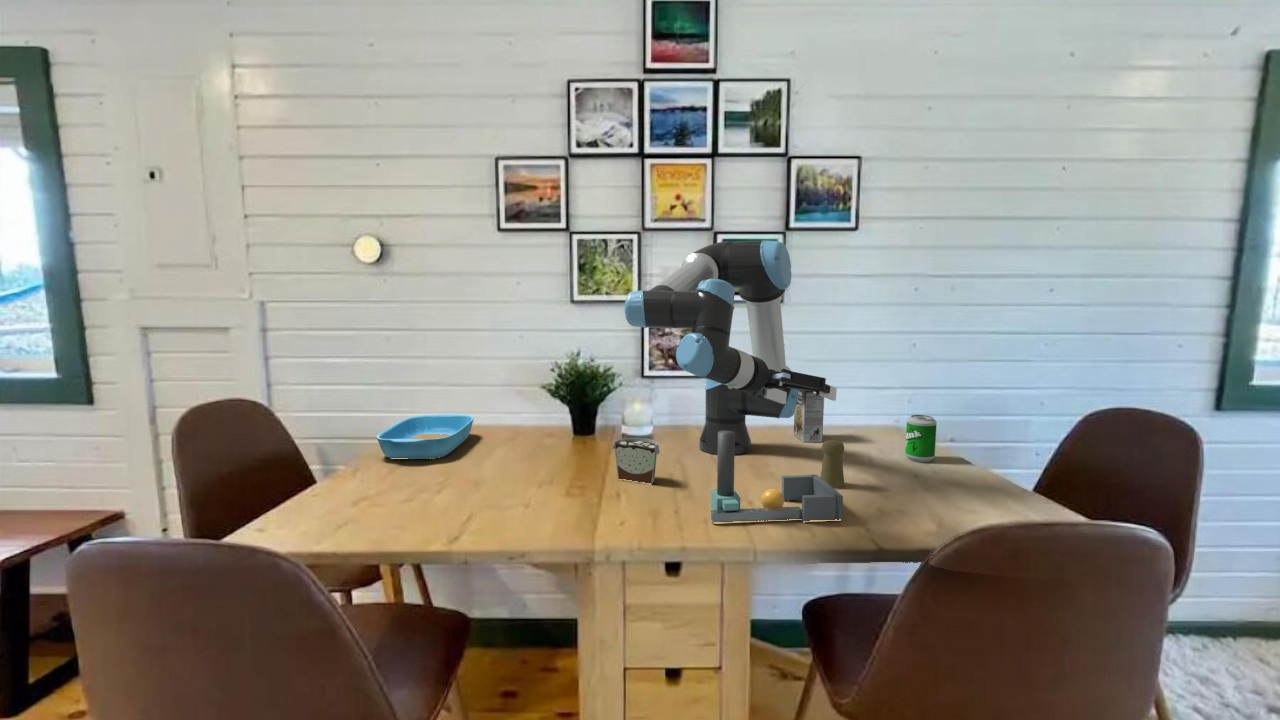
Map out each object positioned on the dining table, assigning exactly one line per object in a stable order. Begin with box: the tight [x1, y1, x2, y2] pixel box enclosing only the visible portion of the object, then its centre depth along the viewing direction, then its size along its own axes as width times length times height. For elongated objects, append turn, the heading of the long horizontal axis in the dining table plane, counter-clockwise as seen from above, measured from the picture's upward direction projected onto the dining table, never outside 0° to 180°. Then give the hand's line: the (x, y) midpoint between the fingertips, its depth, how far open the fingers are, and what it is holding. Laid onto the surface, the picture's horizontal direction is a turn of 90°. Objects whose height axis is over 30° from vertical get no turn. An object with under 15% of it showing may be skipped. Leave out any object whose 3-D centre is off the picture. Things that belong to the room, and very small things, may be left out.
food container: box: [612, 437, 661, 485], centre depth 171 cm, size 12×6×10 cm, turn 65°
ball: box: [760, 488, 785, 508], centre depth 149 cm, size 5×5×5 cm
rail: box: [710, 505, 802, 522], centre depth 143 cm, size 19×2×2 cm, turn 96°
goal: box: [781, 474, 844, 521], centre depth 150 cm, size 8×15×6 cm, turn 6°
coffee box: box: [793, 390, 825, 443], centre depth 210 cm, size 9×6×16 cm
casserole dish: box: [376, 413, 475, 460], centre depth 203 cm, size 37×22×7 cm, turn 179°
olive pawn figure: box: [819, 439, 845, 489], centre depth 166 cm, size 6×6×11 cm
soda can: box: [904, 414, 938, 463], centre depth 187 cm, size 8×8×12 cm
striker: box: [710, 431, 741, 511], centre depth 145 cm, size 5×8×18 cm, turn 6°
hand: (809, 396), depth 150 cm, fingers open, 13 cm apart
